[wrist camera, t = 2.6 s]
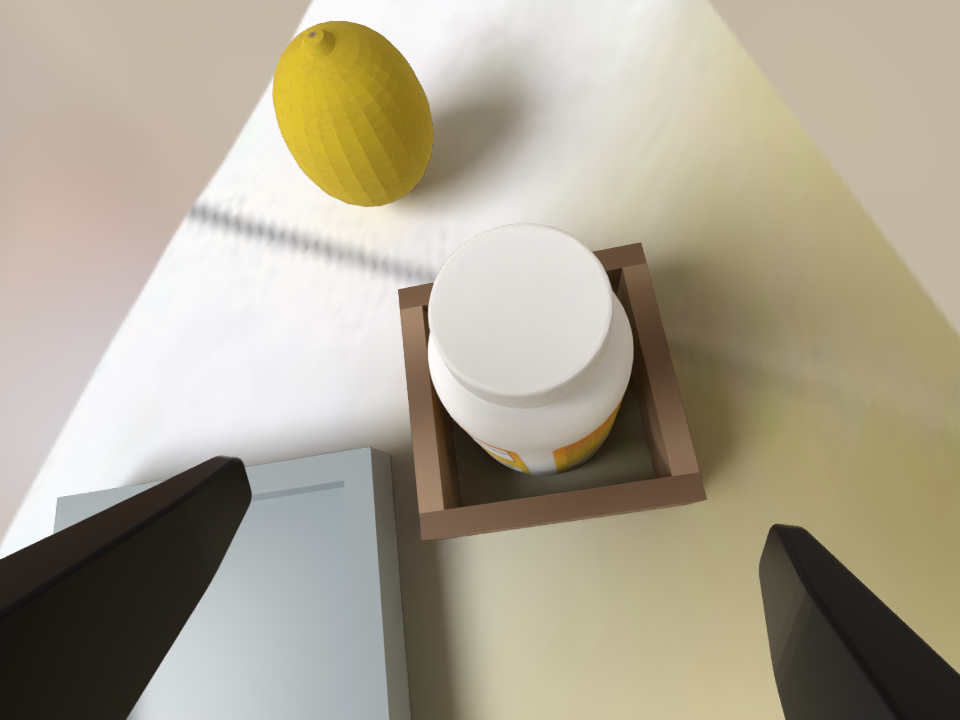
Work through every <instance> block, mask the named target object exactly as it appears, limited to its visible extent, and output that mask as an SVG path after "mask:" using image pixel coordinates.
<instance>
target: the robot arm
mask: <svg viewBox="0 0 960 720" xmlns="http://www.w3.org/2000/svg"><path fill="white" fill-rule="evenodd" d="M251 499H252V491H251V487H250V483H249V480H248V476H247V473H246V469H245V466H244V463H243V461H242V460H241V459H240V458H237V457H230V456H216V457H214V458H212V459H210V460H208V461H205V462H203V463H201V464H199V465H197V466H195V467H193V468H191V469H189V470H187V471H184V472H182V473H180V474H178V475H176V476H174V477H172V478H170V479H168V480H166V481H164V482H161V483H159V484H157V485H155V486H153V487H151V488H149V489H147V490H145V491H143V492H141V493H138V494H136V495H134V496H132V497H130V498H128V499H126V500H124V501H122V502H120V503H118V504H115V505H113V506H111V507H109V508H107V509H105V510H103V511H101V512H99V513H97V514H94V515H92V516H90V517H88V518H86V519H84V520H82V521H80V522H78V523H76V524H74V525H71V526H69V527H67V528H65V529H63V530H61V531H59V532H57V533H55V534H53V535H51V536H48V537H46V538H44V539H42V540H40V541H38V542H36V543H34V544H32V545H30V546H28V547H25V548H23V549H21V550H19V551H17V552H15V553H13V554H11V555H9V556H7V557H4V558H2V559H0V720H126V719H127V718H128V716H129V715H130V713H131V711H132V710H133V708H134V707H135V705H136V703H137V702H138V700H139V698H140V697H141V695H142V694H143V692H144V690H145V689H146V687H147V686H148V684H149V682H150V681H151V679H152V678H153V676H154V674H155V673H156V671H157V669H158V668H159V666H160V665H161V663H162V661H163V660H164V658H165V657H166V655H167V653H168V652H169V650H170V648H171V647H172V645H173V644H174V642H175V640H176V639H177V637H178V636H179V634H180V632H181V631H182V629H183V628H184V626H185V624H186V623H187V621H188V619H189V618H190V616H191V615H192V613H193V611H194V610H195V608H196V607H197V605H198V603H199V602H200V600H201V598H202V597H203V595H204V594H205V592H206V590H207V589H208V587H209V585H210V583H211V582H212V580H213V578H214V576H215V574H216V573H217V571H218V569H219V567H220V565H221V563H222V561H223V559H224V557H225V555H226V553H227V551H228V549H229V547H230V545H231V543H232V541H233V539H234V536H235V534H236V532H237V530H238V528H239V526H240V524H241V522H242V520H243V518H244V516H245V514H246V512H247V510H248V508H249V506H250V503H251ZM759 578H760V585H761V591H762V598H763V605H764V612H765V619H766V625H767V632H768V639H769V646H770V653H771V659H772V665H773V671H774V676H775V681H776V685H777V689H778V693H779V697H780V701H781V705H782V708H783V712H784V716H785V720H960V674H959V673H958V672H957V671H955V670H954V669H953V668H952V667H951V666H950V665H949V664H948V663H947V662H946V661H945V660H944V659H943V658H942V657H941V656H940V655H938V654H937V653H936V652H935V651H934V650H933V649H932V648H931V647H930V646H929V645H928V644H927V643H926V642H925V641H924V640H923V639H922V638H920V637H919V636H918V635H917V634H916V633H915V632H914V631H913V630H912V629H911V628H910V627H909V626H908V625H907V624H906V623H905V622H903V621H902V620H901V619H900V618H899V617H898V616H897V615H896V614H895V613H894V612H893V611H892V610H891V609H890V608H889V607H888V606H886V605H885V604H884V603H883V602H882V601H881V600H880V599H879V598H878V597H877V596H876V595H875V594H874V593H873V592H872V591H871V590H870V589H868V588H867V587H866V586H865V585H864V584H863V583H862V582H861V581H860V580H859V579H858V578H857V577H856V576H855V575H854V574H853V573H851V572H850V571H849V570H848V569H847V568H846V567H845V566H844V565H843V564H842V563H841V562H840V561H839V560H838V559H837V558H836V557H834V556H833V555H832V554H831V553H830V552H829V551H828V550H827V549H826V548H825V547H824V546H823V545H822V544H821V543H820V542H819V541H818V540H816V539H815V538H814V537H813V536H812V535H811V534H810V533H809V532H808V531H807V530H806V529H804V528H802V527H799V526H793V525H785V524H774V525H773V526H772V527H771V528H770V530H769V533H768V536H767V540H766V543H765V546H764V549H763V552H762V556H761V559H760V564H759Z"/></svg>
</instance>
